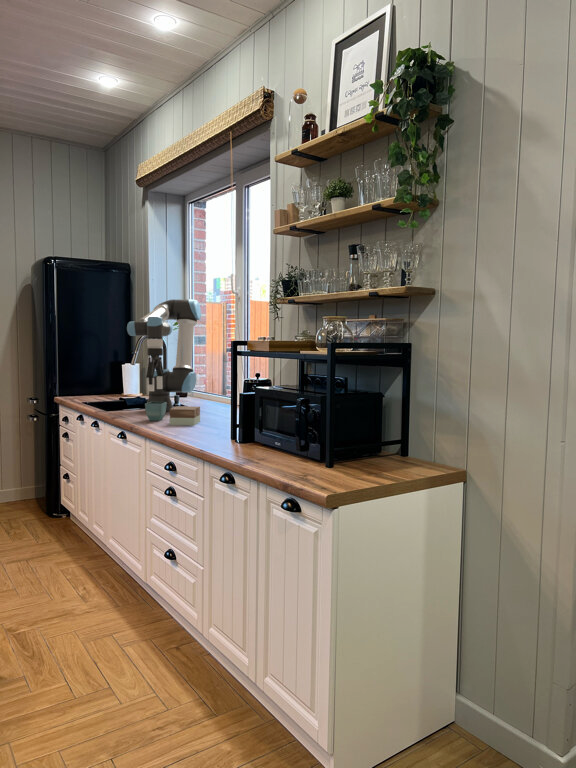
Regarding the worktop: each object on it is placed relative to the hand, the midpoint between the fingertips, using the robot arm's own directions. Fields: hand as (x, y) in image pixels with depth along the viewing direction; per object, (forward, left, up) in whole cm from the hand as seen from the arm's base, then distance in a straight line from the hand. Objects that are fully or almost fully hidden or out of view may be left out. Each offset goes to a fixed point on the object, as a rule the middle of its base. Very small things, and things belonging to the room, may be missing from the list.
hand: (155, 390), depth 293 cm
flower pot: (0, 0, -16) cm, 16 cm away
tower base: (+8, +17, -16) cm, 24 cm away
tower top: (+8, +17, -12) cm, 22 cm away
